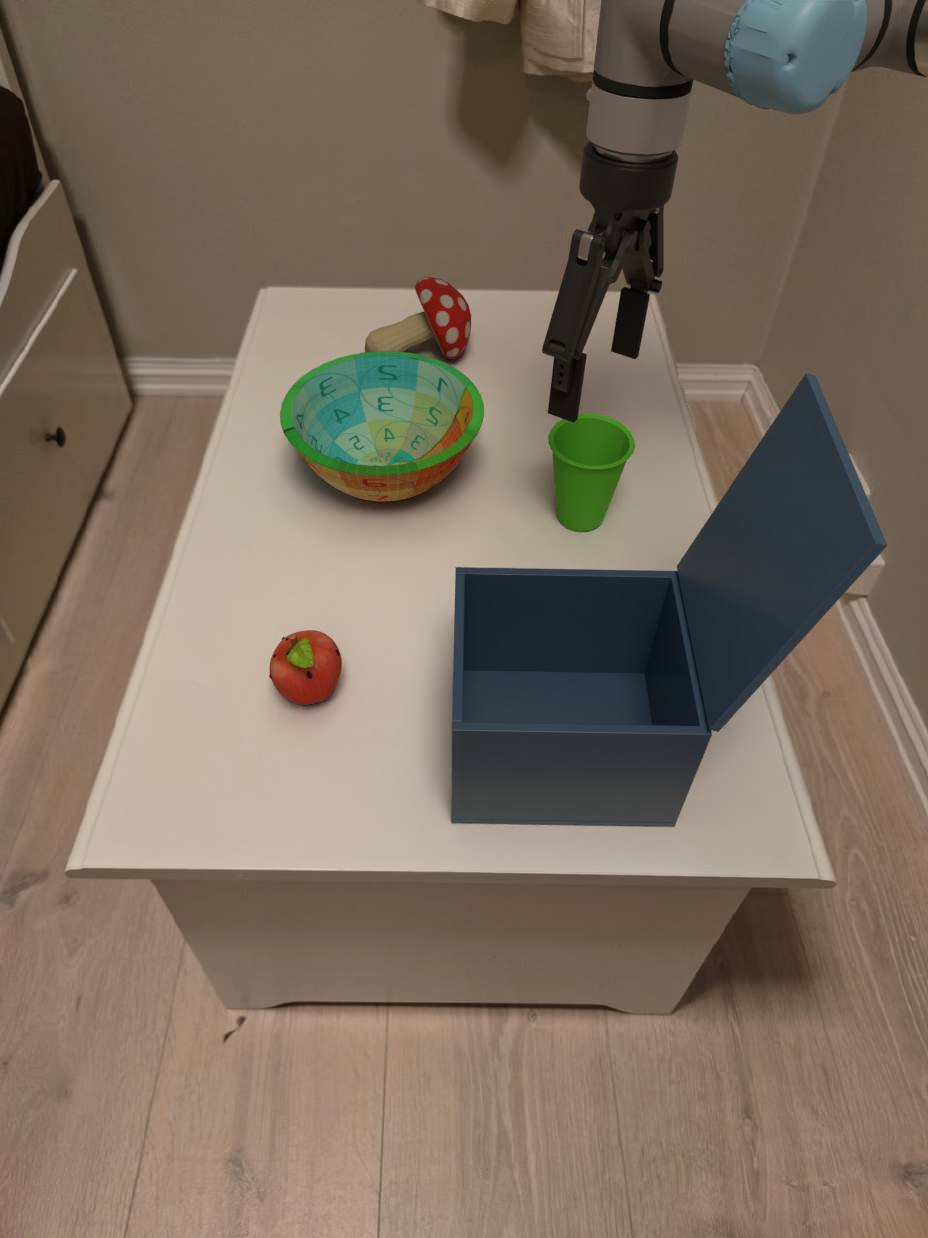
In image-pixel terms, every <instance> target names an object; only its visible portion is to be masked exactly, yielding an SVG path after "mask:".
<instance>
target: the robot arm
mask: <svg viewBox="0 0 928 1238" xmlns="http://www.w3.org/2000/svg"><path fill="white" fill-rule="evenodd" d="M598 17H599V18H598V25H597V35H596V44H595V53H594V63H593V69H592V82H591V87H590V88H589V89H588V90H587V92H586V93H585V98H586V101H587V102H589V107H588V114H587V115H588V116H587V122H586V123H587V124H586V132H585V134H586V135H585V136H586V137H587V139H588V142H587V143H586V145H584V147H583V150H582V151H583V152H582V159H581V168H580V176H579V185H578V187H579V192H580V195H581V197H583V198H584V199H585V200H586V201H588V203H589V204H590V205H591V206H592V208H593V210H594V212H593V215H592V218H591V221H590V223H589V226H588V228H587V231H585V230H581V229H578V228H576V229H574V231H573V233H572V235H571V240H570V245H569V252H568V259H567V262H566V266H565V270H564V273H563V276H562V279H561V283H560V286H559V289H558V293H557V297H556V300H555V302H554V303H555V304H554V307H553V310H552V314H551V317H550V320H549V324H548V327H547V330H546V334H545V337H544V341H543V344H542V347H541V352H542V354H544V355H547V356H550V357H552V358H553V364H552V371H551V380H550V388H549V389H550V390H549V396H548V397H549V398H548V406H547V414H548V415H551V416H553V417H556V418H559V419H561V420H562V419H565V420H567V421H570V422H573V423H574V422H575V421H576V420H577V419H578V414H580V413H579V412H580V404H581V399H582V398H581V397H582V392H583V385H584V379H585V377H584V376H585V371H586V363H587V356H588V354H587V353H585V352H584V349H585V347H586V344H587V343H588V340H589V337H590V334H591V332H592V330H593V327H594V325H595V322H596V319H597V317H598V315H599V312H600V309H601V307H602V304H603V302H604V299H605V297H606V294H607V292H608V289H609V287H610V286H611V285H612V284H615V283H616V282H617V281H618V280H619V277H620V275H621V272H622V274H623V276H624V279H625V284H626V285H628V286H630V287H626V286H623V287H622V288H621V289H620V294H619V299H618V306H617V312H616V318H615V325H614V329H613V335H612V342H611V348H610V352H611V353H614V354H617V355H621V356H624V357H627V358H630V359H633V360H637V358H639V355H640V349H641V346H642V345H641V344H642V339H643V334H644V331H645V330H644V329H645V324H646V318H647V313H648V307H649V303H650V298H651V293H655V294H659V293H660V292H661V290H662V287H663V281H662V280H660V279H657V278H661V277H662V275H663V273H664V266H665V265H664V263H665V261H664V260H665V259H664V258H665V257H664V255H665V253H664V251H665V250H664V249H665V247H664V244H665V243H664V242H665V241H664V239H665V237H664V235H665V234H664V230H665V229H664V224H665V223H664V211H665V205H666V204H667V203H668V202H669V201H670V200H671V197H672V193H673V189H674V183H675V177H676V172H677V168H678V162H679V155H678V153H677V151H676V150H677V149H679V147H681V145H682V144H683V140H684V134H685V128H686V123H687V119H688V114H689V108H690V101H691V98H692V97H691V96H692V90H693V84H694V81H696V82H699V83H701V84H704V85H706V86H708V87H711V88H713V89H716V90H718V91H721V92H723V93H726V94H728V95H731V96H733V97H736V98H738V99H740V100H741V101H743V102H745V103H746V104H747V105H749V106H754V107H755V108H758V109H761V110H772V111H777V112H779V113H783V114H788V115H804V114H808V113H811V112H814V111H816V110H817V109H819V108H820V107H822V106H823V105H824V104H825V103H826V101H827V99H828V97H829V96H831V95H833V94H836V93H838V91H839V90H840V89H841V88H842V87H843V85H844V84H845V83H846V81H847V80H848V78H849V76H850V75H851V74H852V73H853V72H857V71H861V70H866V69H869V68H885V69H889V70H892V71H898V72H901V73H906V74H909V75H914V76H918V77H923V78H928V0H600V7H599V16H598ZM648 292H651V293H648Z"/></svg>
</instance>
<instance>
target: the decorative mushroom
mask: <svg viewBox="0 0 928 1238" xmlns="http://www.w3.org/2000/svg"><path fill="white" fill-rule="evenodd" d="M414 291H415V294H416V295H417V298H418V301H419V303H420V305H421V307H422V310H423V311H421V312H417V313H414V314H412V315H410V316H409V315H408V316H407V317H405V318H404V319H402V320H401V321H397V322H395V323H392V324H388V325H385V326H381V327H378V328H376V329H373V330H372V331H370V332H369V333H368V335H367V336H366V338H365V341H364V352H376V351H397V352H406V351H407V350H409V349H411V348H412V347H415V346H418V345H421V344H422V343H424V342H425V341H427V340H429V339H431V338H432V337H433V336H434V338H435V340H436V342H437V344H438V346H439V348H440V351H441V353H442V355H443V356H444V358H447V359H449V360H453V359H458V357H460V356H461V354H463V352H464V350H465V349H466V347H467V345H468V343H469V339H470V338H471V337H470V336H471V331H472V314H471V309H470V306H469V302H468V301H467V300H466V298H465V296H464V295H463V294H462V293H461V292H460V291H459V290H458V289H457V288H456V287H455V286H453V285H452V284H450V282H448V281H445V280H443V279H441V278H437V277H433V276H425V277H424V276H423V277H421V278H419V279H418V280H417V281H416V283H415V286H414Z"/></svg>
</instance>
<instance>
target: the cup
mask: <svg viewBox="0 0 928 1238" xmlns="http://www.w3.org/2000/svg"><path fill="white" fill-rule="evenodd" d="M547 440H548V442H547V443H548V445H549V448H550V450H551V453H552V466H553V468H552V469H553V479H554V491H555V503H556V515H557V518H558V520H559V522H560V523H561V525H562V526H563V527H564V528H566V529H568V530H570V531H573V532H576V533H577V532H578V533H588V532H591V531H593V530H595V529H597V528H598V527H599V526H600V525H601V524H602V522H603V521H604V518H605V517H606V513H607V512H608V509H609V507H610V504H611V502H612V499H613V496H614V494H615V492H616V489H617V486H618V484H619V482H620V479H621V476H622V474H623V472H624V469H625V467H626V463H627V461H628V460H630V458H631V457H632V456H633V454H634V452H635V449H636V441H635V438H634V436H633V434H632V431H631V430H630V429H629V428H628V427H627V426H626V425H625V424H623V423H621V422H620V421H619V420H617V419H614V418H612V417H609V416H606V415H602V414H597V413H578V419H577V420H576V421H575V422H574V423H573V422H570V421H567V420H565V419H562V418H561V419H560V420H559V421H557V422H556V423H555V424H554V425H553V426H552V428H551V429H550V431H549V433H548V435H547Z"/></svg>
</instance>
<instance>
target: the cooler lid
mask: <svg viewBox="0 0 928 1238" xmlns="http://www.w3.org/2000/svg"><path fill="white" fill-rule="evenodd" d="M887 547H888V543H887V541H886V539H885V536H884V534H883V531H882V529H881V527H880V525H879V522H878V519H877V518H876V515H875V512H874V510H873V508H872V506H871V503H870V500H869V498H868V496H867V494H866V491H865V489H864V487H863V484H862V482H861V479H860V477H859V474H858V472H857V470H856V468H855V465H854V462H853V460H852V458H851V456H850V454H849V451H848V448H847V447H846V444H845V442H844V439H843V436H842V434H841V432H840V430H839V427H838V424H837V423H836V421H835V417H834V415H833V413H832V411H831V408H830V406H829V404H828V402H827V399H826V396H825V394H824V392H823V389H822V387H821V385H820V383H819V381H818V378H817V376H816V375H815V374H812V373H811V374H810V373H807V372H806V373H804V375H803V376H802V378H801V380H800V381H799V383H798V384H797V386H795V388H794V390H793V391H792V393H791V394H790V396H789V398H788V399H787V401H786V402H785V403H784V405H783V407H782V408H781V409H780V411H779V413H778V414H777V415H776V417H775V419H774V420H773V421H772V423H771V424H770V426H769V427H768V429H767V430H766V432H765V433H764V435H763V436H762V437H761V439H760V441H759V442H758V444H757V445H756V447H755V448H754V449H753V451H752V453H751V455H750V456H749V457H748V459H747V460H746V461H745V464H744V465H743V466H742V468H741V469H740V471H739V472H738V474H737V475H736V477H735V478H734V479H733V481H732V483H731V484H730V486H729V487H728V489H727V490H726V492H725V493H724V495H723V496H722V497H721V499H720V500H719V502H718V504H717V505H716V507H715V508H714V510H713V511H712V513H711V514H710V515H709V517H708V518H707V520H706V522H705V523H704V524H703V525H702V527H701V529H700V530H699V532H698V533H697V535H696V537H695V538H694V539H693V541H692V543H690V545H689V547H688V548H687V550H686V551H685V552H684V554H683V556H682V557H681V559H680V560H679V562H678V563H677V565H676V571H678V576H679V581H680V586H681V591H682V596H683V601H684V606H685V611H686V616H687V621H688V626H689V631H690V636H691V641H692V646H693V651H694V656H695V661H696V666H697V671H698V676H699V681H700V686H701V691H702V696H703V701H704V706H705V711H706V716H707V721H708V726H709V730H711V732H712V731H713V732H718V733H719V732H720V731H721V730H722V729H724V727H725V725H727V724H728V722H729V721H730V720H731V719H732V718H733V717H734V716H735V715H736V714H737V712H739V710H740V709H741V708H742V707H743V705H745V704H746V702H747V701H748V700H749V699H750V698H751V697H752V696H753V695H754V694H755V692H756V691H757V690H759V688H760V687H761V686H762V685H763V683H764V682H766V680H767V679H768V678H769V677H770V676H772V674H773V673H774V671H775V670H777V668H778V667H779V666H780V665H781V664H782V663H783V661H784V660H785V659H786V658H787V657H788V656H789V655H790V654H791V653H792V651H794V649H795V648H796V647H797V646H798V645H799V644H800V643H801V642H802V641H803V640H804V638H805V637H806V636H807V635H808V634H809V633H810V632H811V631H812V630H813V628H814V627H816V625H817V624H818V623H819V622H820V621H821V619H823V618H824V616H825V615H826V614H827V613H828V612H829V611H830V610H831V609H832V608H833V606H834V605H835V604H836V603H837V602H838V601H839V600H840V598H842V596H843V595H844V594H845V593H846V592H847V591H848V590H849V589H850V588H851V587H852V585H853V584H854V583H855V582H856V581H857V580H858V579H859V578H860V576H862V575H863V573H864V572H865V571H866V570H867V569H868V567H870V566H871V565H872V563H873V562H874V561H875V560H876V559H877V558H878V557H879V556H880V555H881V553H883V552H884V550H885V549H886V548H887Z"/></svg>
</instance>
